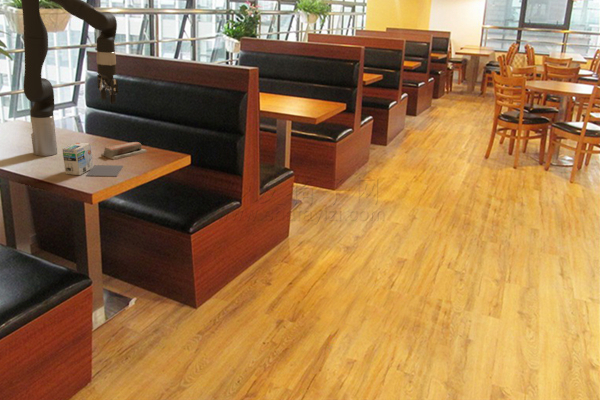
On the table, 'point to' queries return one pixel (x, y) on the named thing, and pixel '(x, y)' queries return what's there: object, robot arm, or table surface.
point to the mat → (105, 170)
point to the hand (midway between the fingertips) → (108, 101)
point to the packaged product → (123, 150)
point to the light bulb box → (77, 158)
